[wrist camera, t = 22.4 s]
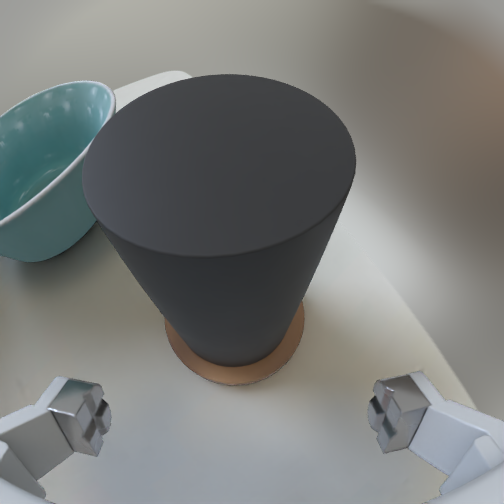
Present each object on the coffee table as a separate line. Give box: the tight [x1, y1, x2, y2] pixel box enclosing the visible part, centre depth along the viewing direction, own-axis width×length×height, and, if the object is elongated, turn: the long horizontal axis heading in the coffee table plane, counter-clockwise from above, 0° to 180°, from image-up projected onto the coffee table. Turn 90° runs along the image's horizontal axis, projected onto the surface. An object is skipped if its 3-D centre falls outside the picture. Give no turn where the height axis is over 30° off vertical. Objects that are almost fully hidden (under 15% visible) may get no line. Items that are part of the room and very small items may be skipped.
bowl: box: [0, 81, 116, 262], centre depth 18 cm, size 16×16×8 cm
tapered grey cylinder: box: [82, 74, 356, 367], centre depth 12 cm, size 6×6×12 cm
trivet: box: [165, 301, 304, 385], centre depth 17 cm, size 8×8×1 cm
